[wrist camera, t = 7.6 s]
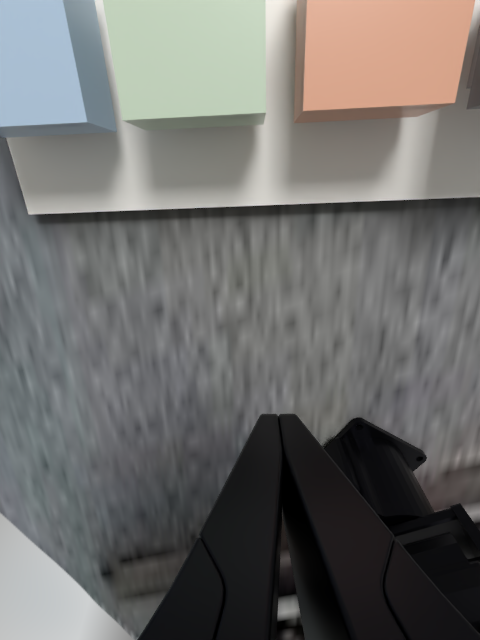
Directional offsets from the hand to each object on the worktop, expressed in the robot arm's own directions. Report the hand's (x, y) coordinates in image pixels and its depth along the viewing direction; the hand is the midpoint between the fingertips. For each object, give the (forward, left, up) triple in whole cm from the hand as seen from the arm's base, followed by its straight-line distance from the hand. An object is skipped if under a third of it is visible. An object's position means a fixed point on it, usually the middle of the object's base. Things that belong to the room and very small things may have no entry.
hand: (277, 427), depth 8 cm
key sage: (+8, -7, -10) cm, 15 cm away
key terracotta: (+2, -11, -10) cm, 15 cm away
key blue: (+13, -4, -10) cm, 17 cm away
